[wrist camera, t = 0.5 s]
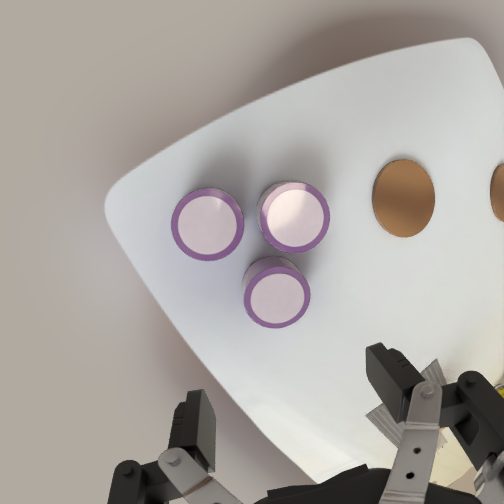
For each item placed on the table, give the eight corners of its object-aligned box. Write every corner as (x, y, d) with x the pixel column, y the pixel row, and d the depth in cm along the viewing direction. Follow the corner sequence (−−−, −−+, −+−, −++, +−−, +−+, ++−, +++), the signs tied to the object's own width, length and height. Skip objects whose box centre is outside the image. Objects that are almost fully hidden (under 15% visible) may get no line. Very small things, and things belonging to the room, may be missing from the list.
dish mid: (249, 189, 22) (252, 191, 19) (310, 175, 22) (322, 175, 19) (264, 250, 23) (269, 261, 20) (322, 236, 23) (335, 243, 20)
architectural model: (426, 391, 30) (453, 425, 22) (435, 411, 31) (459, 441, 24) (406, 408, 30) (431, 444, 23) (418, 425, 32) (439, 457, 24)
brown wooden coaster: (365, 165, 22) (367, 165, 22) (426, 156, 22) (429, 155, 22) (377, 244, 24) (380, 245, 23) (435, 227, 24) (438, 228, 23)
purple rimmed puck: (171, 197, 22) (162, 200, 19) (233, 180, 22) (233, 180, 19) (188, 257, 23) (182, 269, 20) (248, 242, 23) (251, 251, 20)
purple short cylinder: (235, 264, 23) (236, 276, 20) (295, 249, 23) (304, 259, 20) (250, 318, 25) (252, 335, 22) (305, 303, 25) (315, 319, 22)
